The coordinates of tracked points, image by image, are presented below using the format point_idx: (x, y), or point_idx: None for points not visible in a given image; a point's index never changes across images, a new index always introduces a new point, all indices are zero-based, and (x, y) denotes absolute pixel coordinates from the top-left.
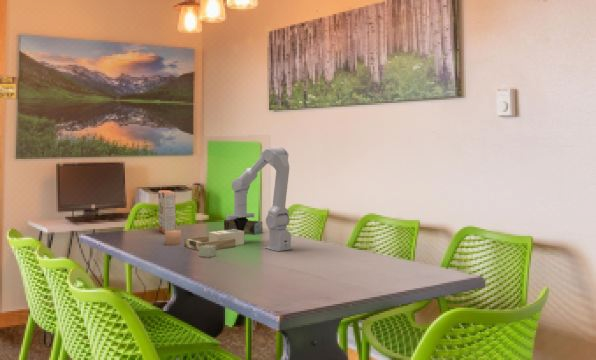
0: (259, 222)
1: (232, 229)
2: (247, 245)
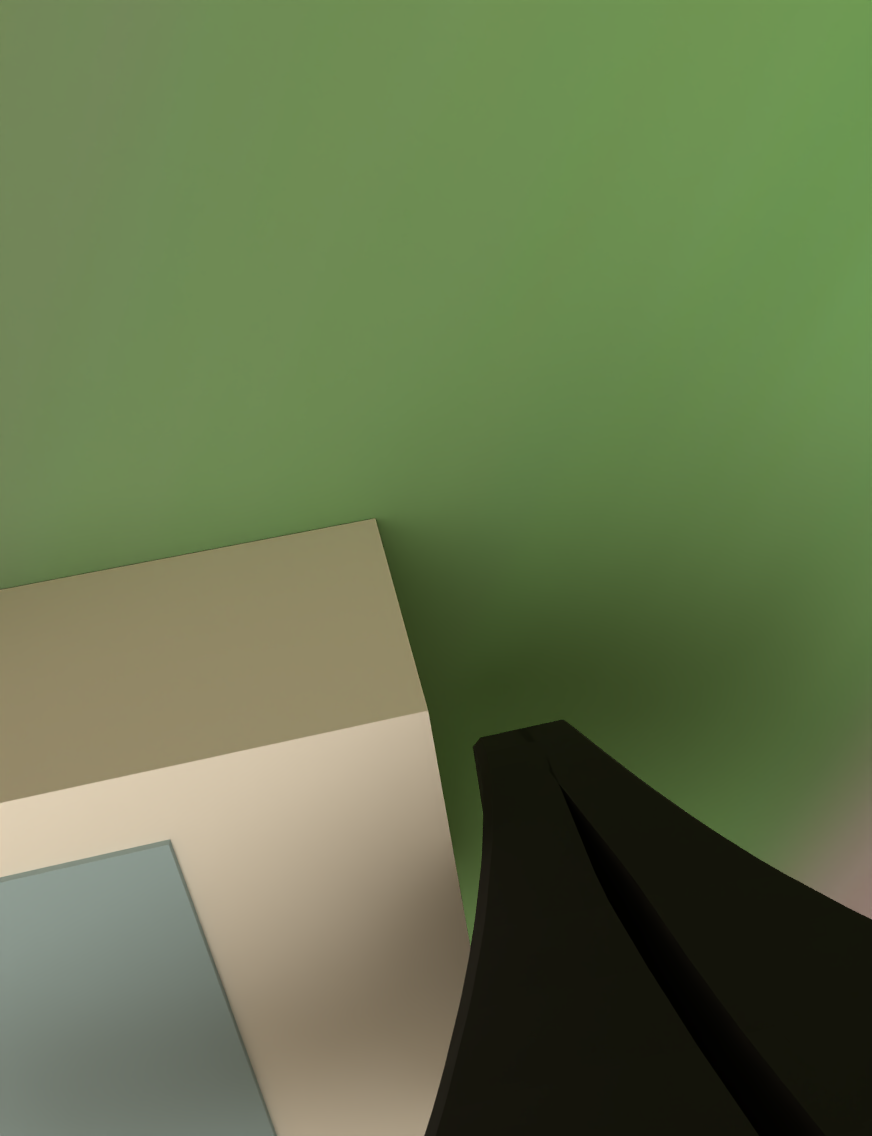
0: None
1: (270, 777)
2: None
